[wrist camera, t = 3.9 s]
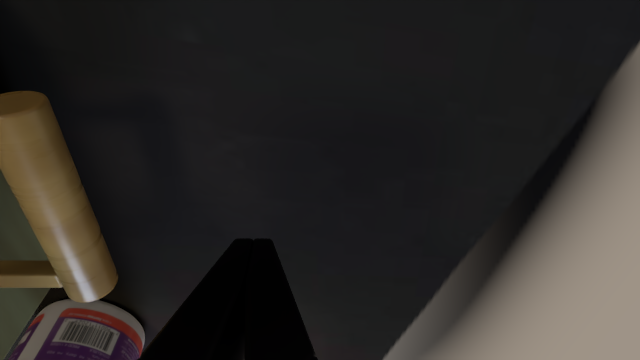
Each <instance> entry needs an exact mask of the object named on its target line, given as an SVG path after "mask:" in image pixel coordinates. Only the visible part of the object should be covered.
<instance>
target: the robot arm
mask: <svg viewBox="0 0 640 360" xmlns="http://www.w3.org/2000/svg"><path fill="white" fill-rule="evenodd" d="M137 360H318V359H317V357H315V352H314V349H313V347H312V344H311V341H310V339H309V336H308V333H307V331H306V328H305V325H304V323H303V320H302V318H301V315H300V312H299V310H298V307H297V304H296V302H295V299H294V297H293V294H292V291H291V289H290V286H289V283H288V281H287V278H286V275H285V273H284V270H283V268H282V265H281V262H280V260H279V257H278V254H277V252H276V249H275V247H274V244H273V241H272V240H271V239H255V240H254V241H253V239H235V240H234V241H233V243H232V244H231V245H230V246H229V247H228V249H227V250H226V251H225V252H224V254H223V255H222V256H221V257H220V258H219V260H218V261H217V262H216V263H215V265H214V266H213V267H212V268H211V269H210V271H209V272H208V273H207V274H206V276H205V277H204V278H203V279H202V281H201V282H200V283H199V284H198V285H197V287H196V288H195V289H194V290H193V292H192V293H191V294H190V295H189V296H188V298H187V299H186V300H185V301H184V303H183V304H182V305H181V306H180V307H179V309H178V310H177V311H176V312H175V314H174V315H173V316H172V317H171V319H170V320H169V321H168V322H167V323H166V325H165V326H164V327H163V328H162V330H161V331H160V332H159V333H158V334H157V336H156V337H155V338H154V339H153V341H152V342H151V343H150V344H149V345H148V347H147V348H146V349H145V350H144V352H143V353H142V354H141V358H138V359H137Z"/></svg>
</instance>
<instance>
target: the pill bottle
mask: <svg viewBox="0 0 640 360" xmlns="http://www.w3.org/2000/svg"><path fill="white" fill-rule="evenodd" d="M144 342H145V333H144V330H143V328H142V326H141V324H140V323H139V322H138V321H137V320H136V319H135V318H134V317H133V316H132V315H131V314H129V313H128V312H126V311H125V310H123V309H121V308H119V307H117V306H115V305H112V304H110V303H107V302H103V301H100V300H96V301H93V302H89V303H79V302H75V301H73V300H71V299H65V300H61V301H57V302H54V303H52V304H50V305H48V306H47V307H45V308H44V309H43V310H41V311H40V312H39V314H38V315H37V316H36V318H35V319H34V321H33V322H32V323H31V325H30V326H29V328H28V329H27V331H26V332H25V334H24V336H23V337H22V339H21V340H20V342H19V344H18V345H17V347H16V348H15V350H14V351H13V353H12V355H11V356H10V358H9V359H8V360H137V359H138V358H140V355H141V352H142V349H143V346H144Z"/></svg>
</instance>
